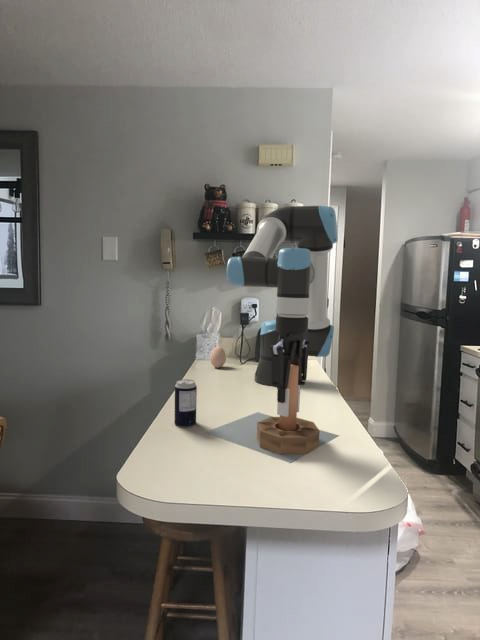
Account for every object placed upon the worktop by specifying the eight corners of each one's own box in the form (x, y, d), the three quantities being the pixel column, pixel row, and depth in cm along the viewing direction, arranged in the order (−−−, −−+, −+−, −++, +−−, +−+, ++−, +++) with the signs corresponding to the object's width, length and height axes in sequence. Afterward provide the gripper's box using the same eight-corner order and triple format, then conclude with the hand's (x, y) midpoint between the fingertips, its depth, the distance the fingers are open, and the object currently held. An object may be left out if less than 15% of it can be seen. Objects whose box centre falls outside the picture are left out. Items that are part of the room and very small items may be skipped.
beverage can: (199, 423, 120) (200, 380, 119) (190, 430, 115) (191, 385, 113) (180, 421, 122) (180, 378, 121) (170, 427, 117) (171, 382, 115)
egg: (227, 366, 190) (228, 345, 189) (223, 369, 184) (223, 348, 183) (212, 365, 192) (213, 344, 191) (207, 368, 185) (208, 347, 184)
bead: (279, 427, 117) (280, 412, 117) (327, 442, 108) (328, 426, 108) (246, 442, 106) (246, 426, 106) (295, 460, 97) (296, 442, 97)
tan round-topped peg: (285, 427, 110) (287, 363, 108) (299, 431, 107) (301, 366, 105) (275, 431, 107) (278, 365, 105) (289, 435, 104) (292, 368, 102)
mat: (257, 414, 129) (257, 412, 129) (338, 437, 113) (339, 435, 113) (204, 434, 113) (204, 432, 112) (290, 465, 96) (290, 463, 96)
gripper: (298, 312, 113) (294, 402, 115) (257, 316, 100) (253, 417, 102) (324, 314, 108) (320, 408, 110) (284, 319, 95) (280, 425, 97)
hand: (288, 412), depth 106 cm, fingers closed on tan round-topped peg, 4 cm apart
